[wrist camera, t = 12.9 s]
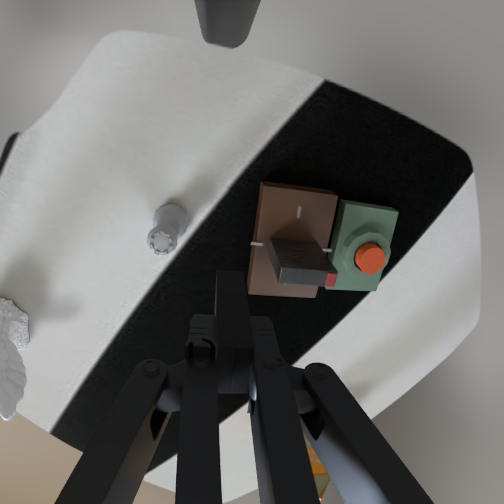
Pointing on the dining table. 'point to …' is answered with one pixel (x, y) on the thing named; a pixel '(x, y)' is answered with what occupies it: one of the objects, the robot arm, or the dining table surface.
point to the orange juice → (317, 470)
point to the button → (369, 258)
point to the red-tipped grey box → (301, 263)
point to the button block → (359, 242)
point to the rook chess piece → (167, 228)
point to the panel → (288, 232)
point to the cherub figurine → (12, 357)
